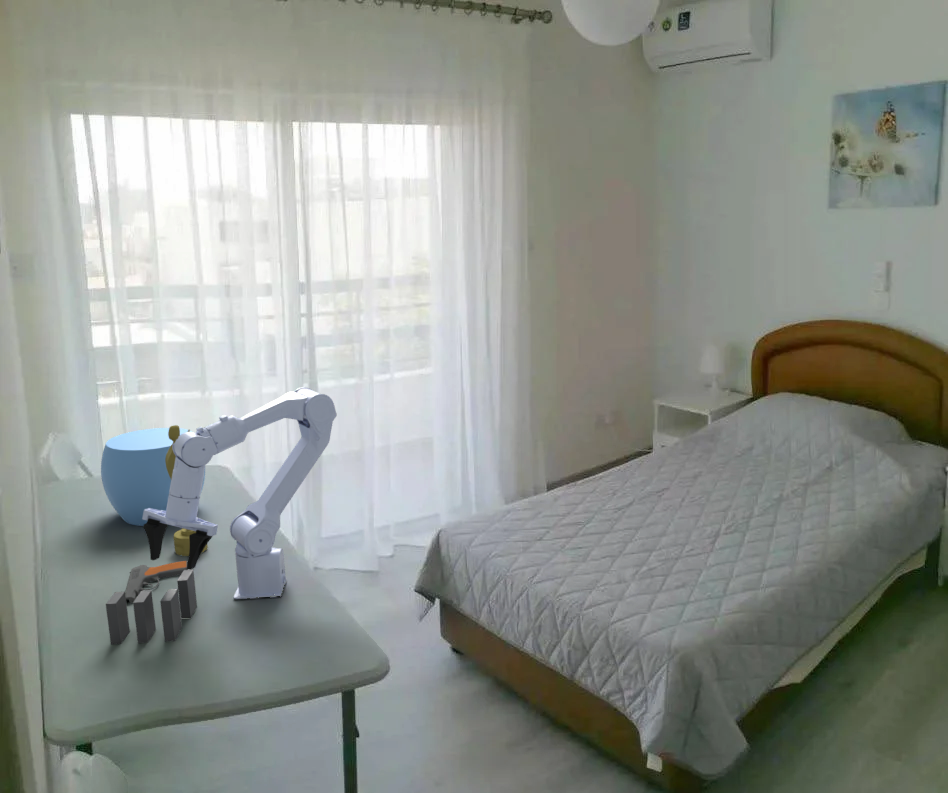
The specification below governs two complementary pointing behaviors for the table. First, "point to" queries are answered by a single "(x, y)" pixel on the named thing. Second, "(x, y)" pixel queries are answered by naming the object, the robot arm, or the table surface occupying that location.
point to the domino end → (117, 617)
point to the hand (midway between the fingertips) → (172, 563)
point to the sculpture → (174, 432)
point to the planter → (137, 472)
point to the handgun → (150, 577)
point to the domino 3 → (187, 594)
